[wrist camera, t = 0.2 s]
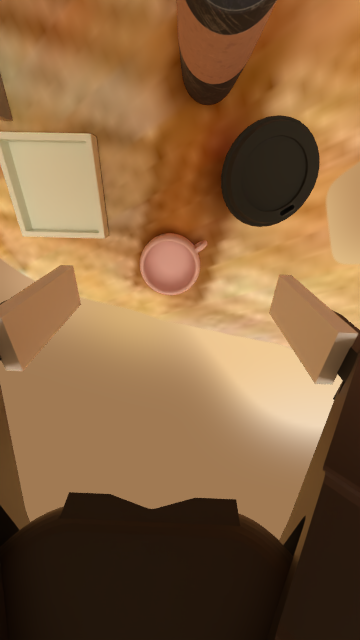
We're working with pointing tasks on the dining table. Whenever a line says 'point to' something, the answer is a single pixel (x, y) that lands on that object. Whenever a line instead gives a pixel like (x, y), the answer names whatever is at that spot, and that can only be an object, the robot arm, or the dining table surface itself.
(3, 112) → the bay
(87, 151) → the tray
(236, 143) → the coffee cup
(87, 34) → the dining table surface
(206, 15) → the travel mug
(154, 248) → the mug
